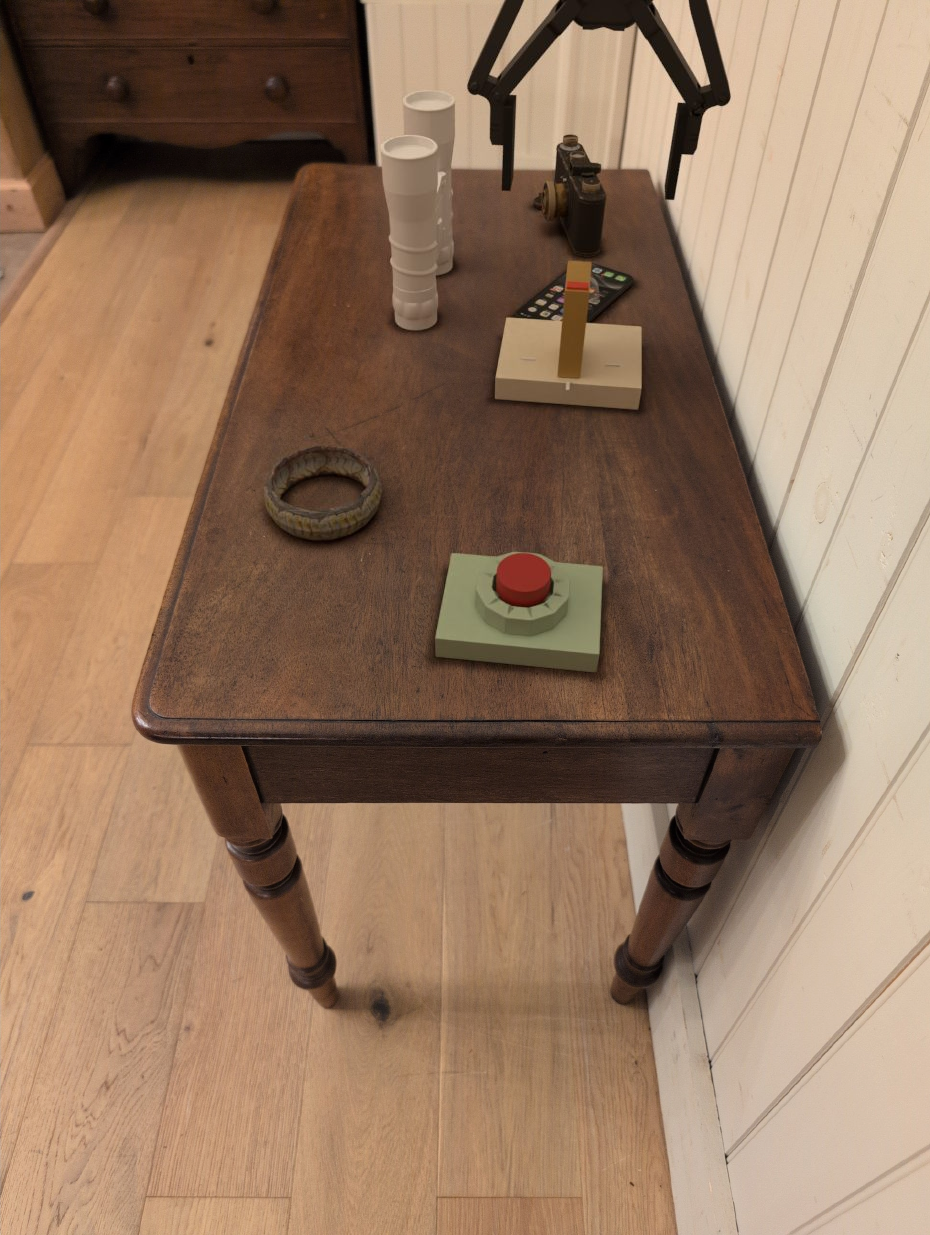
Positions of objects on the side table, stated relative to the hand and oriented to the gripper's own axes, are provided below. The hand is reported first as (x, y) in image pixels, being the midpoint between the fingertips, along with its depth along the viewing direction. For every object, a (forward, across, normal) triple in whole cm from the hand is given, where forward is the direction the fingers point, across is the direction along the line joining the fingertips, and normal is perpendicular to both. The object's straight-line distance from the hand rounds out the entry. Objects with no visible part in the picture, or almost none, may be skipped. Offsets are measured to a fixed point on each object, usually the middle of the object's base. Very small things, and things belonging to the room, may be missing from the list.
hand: (587, 189), depth 77 cm
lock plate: (+19, 0, +2) cm, 20 cm away
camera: (+20, -2, +34) cm, 39 cm away
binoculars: (+20, -17, +16) cm, 31 cm away
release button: (+16, -2, -32) cm, 36 cm away
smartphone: (+19, 0, +16) cm, 25 cm away
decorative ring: (+20, -20, -21) cm, 35 cm away
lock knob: (+17, 0, 0) cm, 17 cm away
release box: (+20, -2, -32) cm, 37 cm away
